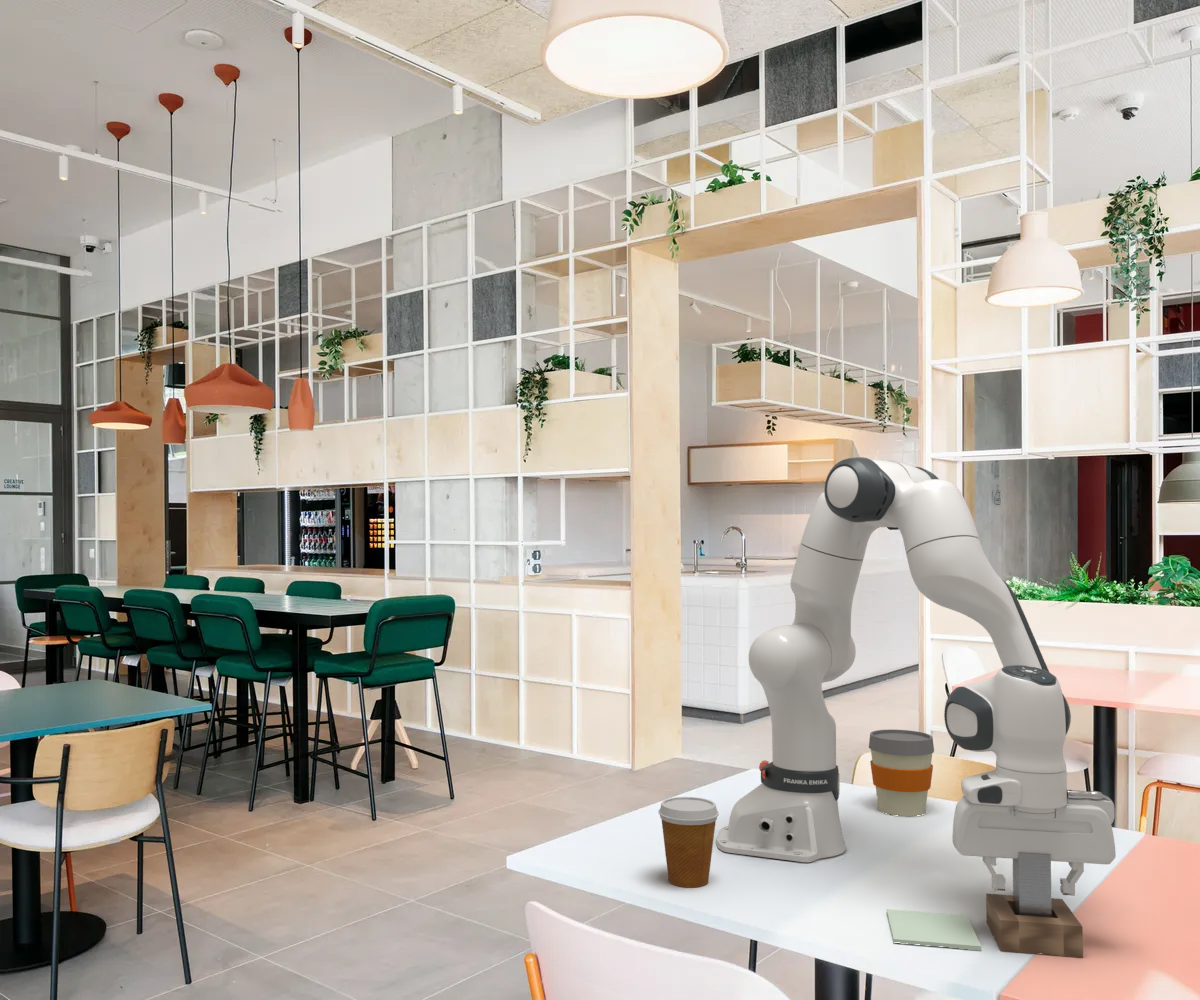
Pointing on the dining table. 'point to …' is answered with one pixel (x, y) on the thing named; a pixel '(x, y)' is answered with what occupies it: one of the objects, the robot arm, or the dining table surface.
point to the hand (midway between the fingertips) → (1032, 891)
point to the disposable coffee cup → (688, 839)
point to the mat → (933, 929)
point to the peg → (1032, 885)
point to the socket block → (1034, 928)
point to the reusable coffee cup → (901, 770)
